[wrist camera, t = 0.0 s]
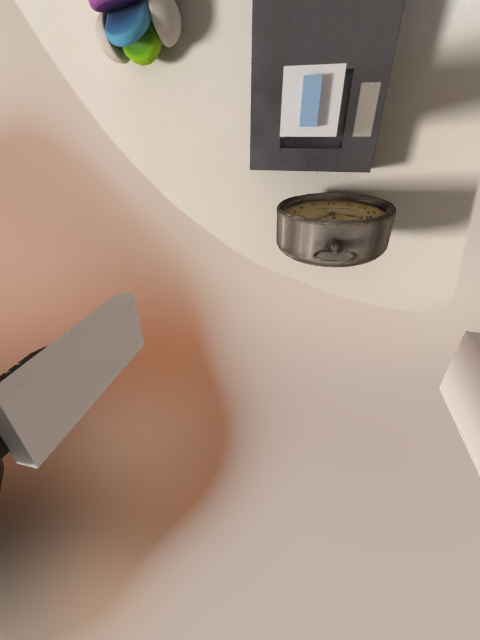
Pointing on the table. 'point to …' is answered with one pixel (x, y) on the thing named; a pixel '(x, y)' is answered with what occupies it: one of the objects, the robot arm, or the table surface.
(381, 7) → the panel
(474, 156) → the table surface
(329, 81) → the plug
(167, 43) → the rainbow petal toy
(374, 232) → the alarm clock
